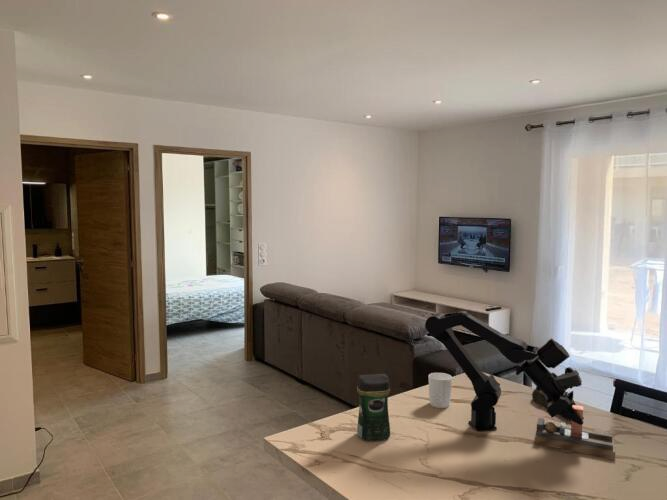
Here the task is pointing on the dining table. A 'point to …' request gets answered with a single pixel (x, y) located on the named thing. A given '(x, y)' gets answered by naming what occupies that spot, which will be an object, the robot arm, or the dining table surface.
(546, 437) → the ball pusher game
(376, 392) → the coffee jar
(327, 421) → the dining table surface
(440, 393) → the white cup
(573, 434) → the lever
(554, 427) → the nut
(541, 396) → the dark brown bar
